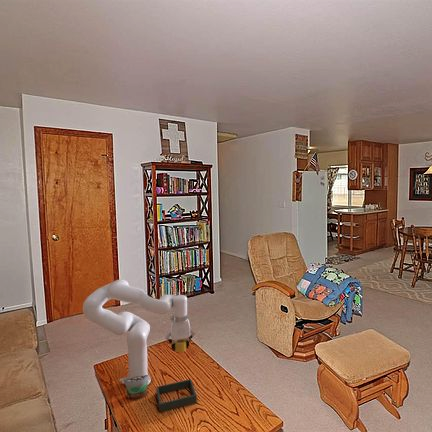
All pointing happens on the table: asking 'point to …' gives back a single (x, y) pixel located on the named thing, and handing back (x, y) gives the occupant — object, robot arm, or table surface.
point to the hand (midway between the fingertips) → (180, 348)
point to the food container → (136, 387)
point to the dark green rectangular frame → (177, 402)
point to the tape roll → (180, 345)
